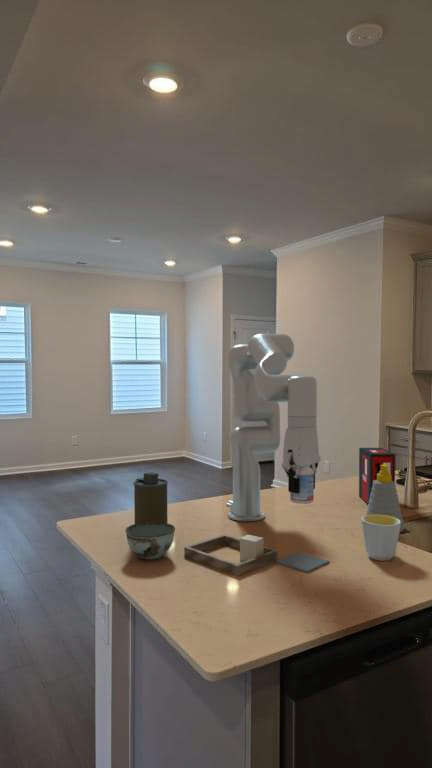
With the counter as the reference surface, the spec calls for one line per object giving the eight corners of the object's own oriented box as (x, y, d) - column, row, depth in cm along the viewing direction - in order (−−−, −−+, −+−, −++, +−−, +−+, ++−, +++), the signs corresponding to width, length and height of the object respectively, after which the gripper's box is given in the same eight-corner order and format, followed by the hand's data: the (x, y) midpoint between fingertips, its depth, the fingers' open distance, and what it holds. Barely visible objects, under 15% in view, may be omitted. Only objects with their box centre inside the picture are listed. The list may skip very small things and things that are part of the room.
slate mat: (276, 562, 141) (276, 560, 141) (298, 553, 148) (298, 551, 148) (307, 572, 134) (307, 570, 134) (329, 562, 141) (329, 560, 141)
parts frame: (184, 556, 146) (184, 547, 146) (224, 542, 158) (224, 534, 158) (237, 576, 132) (237, 566, 132) (277, 559, 143) (277, 550, 143)
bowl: (154, 570, 136) (154, 539, 136) (115, 560, 144) (114, 530, 143) (185, 554, 148) (185, 525, 148) (147, 545, 155) (147, 518, 155)
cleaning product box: (359, 497, 213) (359, 447, 212) (381, 497, 213) (381, 447, 212) (370, 508, 196) (370, 454, 196) (394, 508, 196) (395, 454, 196)
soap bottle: (404, 524, 176) (404, 463, 175) (404, 535, 164) (404, 469, 164) (365, 520, 180) (365, 461, 179) (362, 531, 168) (363, 467, 168)
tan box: (239, 560, 143) (239, 538, 143) (247, 556, 147) (247, 534, 146) (255, 564, 140) (255, 541, 140) (263, 559, 144) (263, 537, 143)
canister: (175, 538, 162) (175, 472, 162) (148, 546, 154) (148, 478, 154) (152, 530, 170) (151, 468, 169) (125, 538, 162) (125, 473, 161)
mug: (398, 566, 138) (398, 526, 138) (358, 560, 143) (358, 522, 142) (403, 550, 151) (403, 513, 151) (366, 545, 155) (366, 509, 155)
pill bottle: (313, 505, 137) (313, 461, 137) (289, 503, 139) (289, 460, 138) (313, 499, 143) (314, 457, 143) (291, 498, 144) (291, 457, 144)
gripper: (309, 419, 149) (309, 483, 150) (270, 424, 137) (269, 493, 137) (332, 421, 144) (332, 487, 144) (293, 426, 132) (293, 498, 132)
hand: (301, 489), depth 141 cm, fingers closed on pill bottle, 6 cm apart
